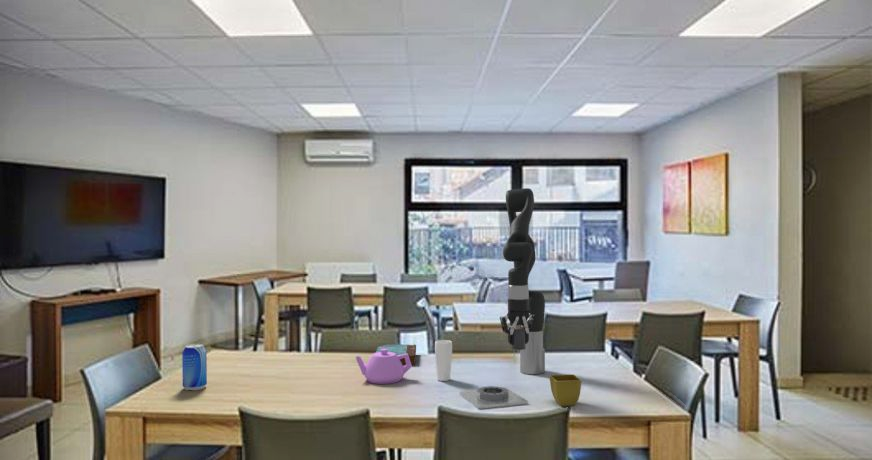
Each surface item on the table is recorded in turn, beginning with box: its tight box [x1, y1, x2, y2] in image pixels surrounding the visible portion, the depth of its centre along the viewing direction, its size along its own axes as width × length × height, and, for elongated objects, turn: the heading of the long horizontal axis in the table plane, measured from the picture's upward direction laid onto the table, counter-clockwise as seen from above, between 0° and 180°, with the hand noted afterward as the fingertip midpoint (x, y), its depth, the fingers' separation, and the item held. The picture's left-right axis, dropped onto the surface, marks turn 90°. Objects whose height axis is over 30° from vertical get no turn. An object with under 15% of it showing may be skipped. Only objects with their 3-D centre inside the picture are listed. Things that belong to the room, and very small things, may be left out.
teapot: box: [355, 349, 413, 385], centre depth 238 cm, size 22×16×12 cm
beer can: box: [181, 343, 208, 391], centre depth 227 cm, size 8×8×16 cm
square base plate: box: [459, 385, 529, 410], centre depth 211 cm, size 18×18×3 cm
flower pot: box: [549, 373, 582, 407], centre depth 205 cm, size 9×9×9 cm
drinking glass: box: [434, 339, 453, 382], centre depth 237 cm, size 7×7×15 cm
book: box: [375, 344, 417, 366], centre depth 272 cm, size 23×18×5 cm
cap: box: [511, 327, 525, 351], centre depth 220 cm, size 5×5×7 cm
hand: (518, 343), depth 220 cm, fingers closed on cap, 5 cm apart
